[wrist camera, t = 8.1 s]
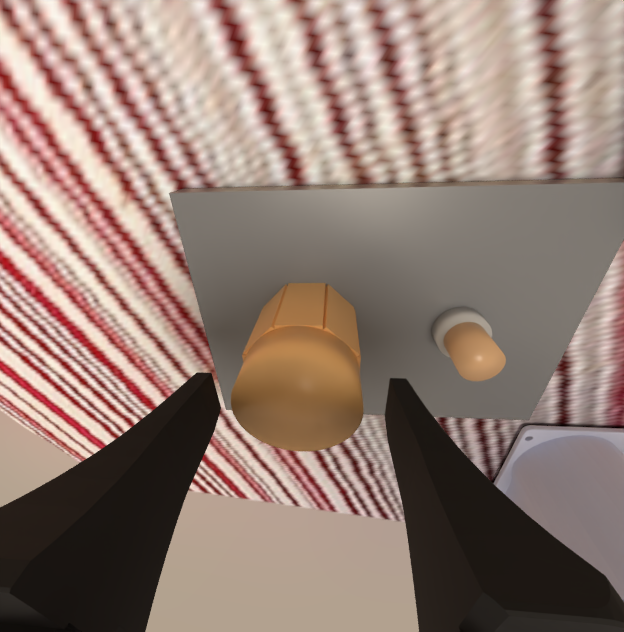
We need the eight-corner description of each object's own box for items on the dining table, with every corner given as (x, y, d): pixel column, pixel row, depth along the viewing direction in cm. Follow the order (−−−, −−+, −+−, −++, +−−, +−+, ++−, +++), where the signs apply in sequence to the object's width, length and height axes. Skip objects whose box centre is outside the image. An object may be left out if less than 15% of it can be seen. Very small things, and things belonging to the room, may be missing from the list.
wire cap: (352, 360, 17) (360, 453, 12) (269, 358, 17) (241, 448, 12) (356, 283, 15) (367, 359, 9) (258, 283, 15) (218, 356, 10)
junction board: (516, 402, 20) (559, 464, 16) (232, 393, 21) (210, 448, 18) (621, 177, 13) (745, 193, 9) (184, 188, 14) (127, 205, 10)
